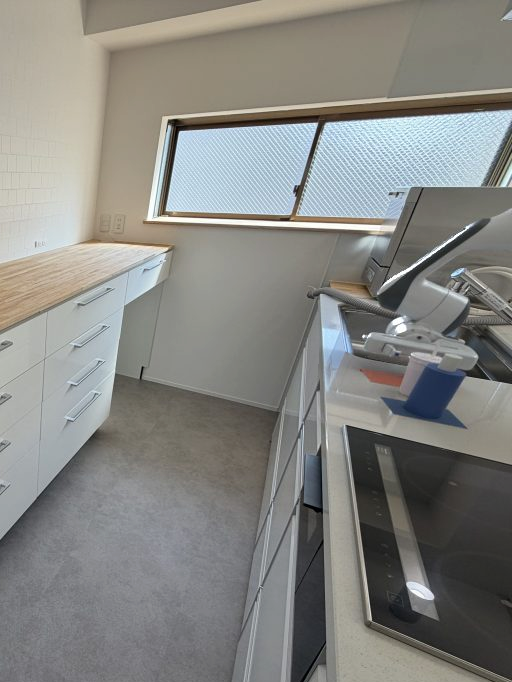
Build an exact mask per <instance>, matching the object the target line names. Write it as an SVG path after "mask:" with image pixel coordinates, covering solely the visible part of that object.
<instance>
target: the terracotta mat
mask: <svg viewBox="0 0 512 682" xmlns="http://www.w3.org/2000/svg"><path fill="white" fill-rule="evenodd" d="M359 371H360V372H361V373H363V374H364V375H365V377H366V378H367V379H368V380H369V382H371V383H375V384H380V385H386V386H392V387H397V388H400V386H401V383H402V381H403V378H404V375H401V374H395V373H389V372H383V371H378V370H373V369H365V368H360V369H359Z"/></svg>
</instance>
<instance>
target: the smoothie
mask: <svg viewBox="0 0 512 682" xmlns="http://www.w3.org/2000/svg"><path fill="white" fill-rule="evenodd" d="M443 341H444V340H443V339H440V341H439V343H438V344H437V346H436V348H435V350H434V352H433V353H432V355H431V354H427V353H419V352H414V353H411V355H410V356H409V358H410V360H409V361H408V363H407V366H406V368H405V372H404V375H403V376H404V378H403V381H402V383H401V386H400V387H399V390H398V392H399V393H400V394H402V395H403V396H407V397H409V395H410V393H411V391H412V389H413V388H414V386H415V384H416V382H417V380H418V379H419V377H420V375H421V373H422V371H423V370H424V368H425V366H426V365H427V364H440V362H441V360H442V358H441V357H439V356H435V355H436V353H437V351H438V350H439V348H440V346H441V344H442V342H443Z"/></svg>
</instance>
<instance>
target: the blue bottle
mask: <svg viewBox="0 0 512 682" xmlns="http://www.w3.org/2000/svg"><path fill="white" fill-rule="evenodd" d="M462 359H463V358H462V357H461V356H458V355H454V354H445V355H444V357H443V358H442V360H441V362H440V364H427V365H426V366H425V368H424V370H423V371H422V373H421V375H420V377H419V379H418V380H417V382H416V384H415V386H414V388H413V389H412V391H411V393H410V395H409V396H407V398H406V400H405V401H406V402H405V404H404V406H403V407H404V409H406V410H407V411H409V412H411V413H413V414H415V415H418V416H422V417H426V418H431V419H438V418H440V417H441V416H442V414H443V412H444V411H445V409H447V408H448V406H449V404H451V403H450V402H451V401H452V399H453V398H454V396H455V394H456V392H457V391H458V389H459V388H460V386H461V385H462V383H463V382H464V380H465V379H466V377H467V373H466V372H465V371H464V370H462V369H457V367H458V366H459V364H460V362H461V361H462Z"/></svg>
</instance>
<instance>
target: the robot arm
mask: <svg viewBox="0 0 512 682" xmlns="http://www.w3.org/2000/svg"><path fill="white" fill-rule="evenodd" d="M474 251H498V252H512V207H510V208H509V209H507V210H505V211H503V212H502V213H500V214H497V215H495V216H492V217H485V218H479V219H477V220H475V221H473V222H471V223H470V224H467V225H466V226H465V227H463V228H462V229H460V230H459V231H457V232H456V233H454V234H453V235H451V236H450V237H449V238H447V239H446V240H444V241H443V242H442V243H440V244H439V245H437V246H436V247H435V248H434V249H432V250H430V251H429V252H428V253H426V254H425V255H424V256H422V257H421V258H419V259H418V260H417V261H415V262H414V263H412V264H411V265H409V266H407V268H405V269H404V270H402V271H401V272H399V273H397V274H395V275H394V276H393V277H391V278H390V279H388V280H387V281H386V282H385V283H384V284H382V285H381V287H380V288H379V289H378V290H377V292H376V298H377V302H378V306H379V307H380V308H382V309H384V310H388V311H390V312H393V313H397V314H399V315H401V316H398V317H396V318H394V319H393V320H392V321H390V322H389V324H388V325H387V326H386V328H385V333H382V332H375V331H374V332H373V331H372V332H370V333H369V334H363V335H362V340H363V341H365V342H364V344H363V349H364V350H365V351H367V352H371V353H378V354H382V355H387V356H388V357H389V358H394V359H398V360H401V361H403V362H409V360H410V358H409V356H410V355H411V353H414V352H419V353H427V354H431V355H432V353H433V352H434V350H435V348H436V346H437V344H438V343H439V341H440V339H443V340H444V341H443V342H442V344H441V346H440V348H439V350H438V351H437V353H436V355H435V356H439V357H441V358H443V357H444V355H445V354H454V355H458V356H461V357H462V358H463V359H462V361H461V362H460V364H459V366H458V367H457V369H459V370H461V371H471V370H473V368H474V367H475V365H476V364H477V362H478V360H479V354H477V352H476V351H475V350H474V349H473V348H471V347H470V346H469V345H466V341H465V340H464V339H462V338H458V337H454V336H450V335H449V334H451V333H453V332H454V331H456V329H458V328H459V327H460V326H461V325H462V324H463V323H464V322H465V321H466V320H467V319H468V317H469V315H470V313H471V300H470V298H469V297H468V296H466V295H463V294H461V293H459V292H457V291H454V290H452V289H449V288H446V287H444V286H441V285H439V284H437V283H434V282H433V281H430V280H428V279H426V278H427V277H428V276H430V275H431V274H433V273H434V272H436V271H437V270H440V268H442V267H444V265H446V264H447V263H449V262H450V261H452V260H453V259H455V258H456V257H458V256H460V255H462V254H465V253H470V252H474Z"/></svg>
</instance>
